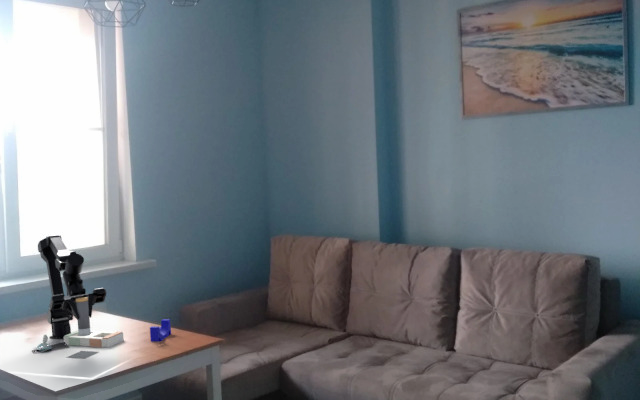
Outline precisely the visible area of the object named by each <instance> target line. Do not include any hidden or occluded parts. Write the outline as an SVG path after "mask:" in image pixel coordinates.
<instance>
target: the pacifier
mask: <svg viewBox="0 0 640 400" xmlns="http://www.w3.org/2000/svg"><path fill="white" fill-rule="evenodd" d="M48 340H49V337H48V335H47V334H44V335H43V337H42V343H40V344H38V345H37V346H36V349H37V348H39V347H41V346H43V348H42V349H37V350H39V351H35V352H34V351H33V354H38V353H39V354H40V353H44V352H46V351H49V350H51V349H53V347H52V346H50V347H47V345H50V343H48Z"/></svg>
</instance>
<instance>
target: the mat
mask: <svg viewBox="0 0 640 400" xmlns="http://www.w3.org/2000/svg"><path fill="white" fill-rule="evenodd" d="M99 353H100V351H92V350H80V351H77V352H75V353H73V354H71V355H69V356H66V357H65V358H68V359H80V360H83V359H84V360H85V359H88V358H90V357H92V356H94V355H96V354H99Z"/></svg>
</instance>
